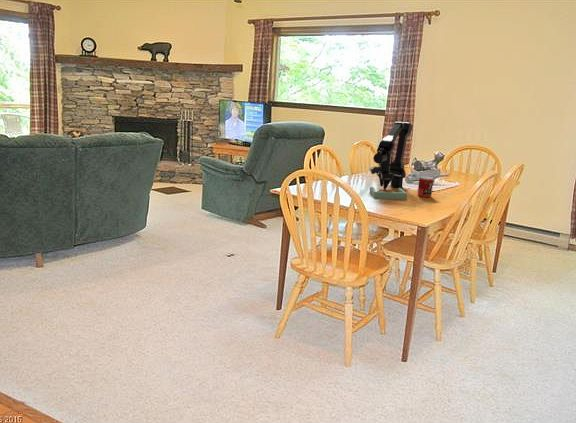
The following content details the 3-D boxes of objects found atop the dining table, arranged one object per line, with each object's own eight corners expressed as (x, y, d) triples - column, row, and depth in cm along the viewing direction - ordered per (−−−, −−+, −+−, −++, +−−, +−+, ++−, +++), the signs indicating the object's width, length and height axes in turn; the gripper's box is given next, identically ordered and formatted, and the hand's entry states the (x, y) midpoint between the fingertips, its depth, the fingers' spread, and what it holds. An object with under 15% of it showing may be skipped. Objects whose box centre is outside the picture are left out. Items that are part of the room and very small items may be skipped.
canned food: (423, 198, 296) (426, 178, 293) (414, 195, 303) (416, 176, 300) (434, 197, 299) (436, 178, 297) (424, 194, 306) (426, 175, 304)
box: (400, 194, 304) (401, 188, 303) (406, 199, 290) (407, 193, 289) (369, 192, 303) (369, 186, 302) (373, 198, 289) (374, 192, 288)
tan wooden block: (391, 196, 299) (391, 189, 298) (393, 198, 292) (394, 192, 291) (378, 195, 299) (379, 189, 298) (380, 198, 292) (381, 191, 291)
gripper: (368, 158, 315) (366, 184, 319) (374, 163, 297) (372, 190, 301) (387, 159, 315) (384, 184, 319) (394, 164, 297) (391, 191, 301)
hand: (382, 187), depth 310 cm, fingers open, 9 cm apart
